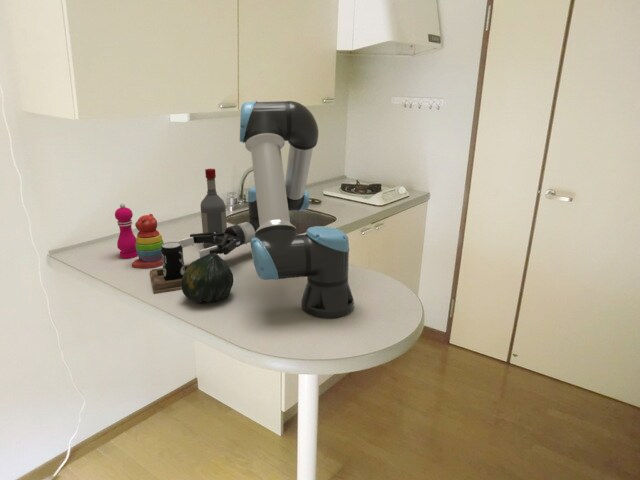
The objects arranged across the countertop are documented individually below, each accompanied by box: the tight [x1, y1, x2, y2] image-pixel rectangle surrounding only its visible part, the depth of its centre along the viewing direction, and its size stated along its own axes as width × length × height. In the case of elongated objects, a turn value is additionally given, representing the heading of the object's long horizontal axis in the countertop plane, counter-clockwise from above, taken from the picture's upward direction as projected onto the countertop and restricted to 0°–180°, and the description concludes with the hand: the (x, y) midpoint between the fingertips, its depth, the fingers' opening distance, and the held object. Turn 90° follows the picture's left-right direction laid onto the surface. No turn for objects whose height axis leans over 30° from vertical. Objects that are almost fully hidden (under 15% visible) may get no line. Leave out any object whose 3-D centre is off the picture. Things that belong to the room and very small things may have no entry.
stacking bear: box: [131, 213, 165, 269], centre depth 170 cm, size 11×10×18 cm
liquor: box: [200, 168, 228, 249], centre depth 187 cm, size 9×9×30 cm
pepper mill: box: [114, 202, 138, 260], centre depth 177 cm, size 7×7×20 cm
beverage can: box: [161, 241, 185, 281], centre depth 156 cm, size 7×7×12 cm
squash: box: [182, 253, 234, 303], centre depth 145 cm, size 14×15×15 cm
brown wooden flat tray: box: [149, 263, 191, 294], centre depth 160 cm, size 18×16×3 cm
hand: (187, 250), depth 159 cm, fingers open, 13 cm apart
